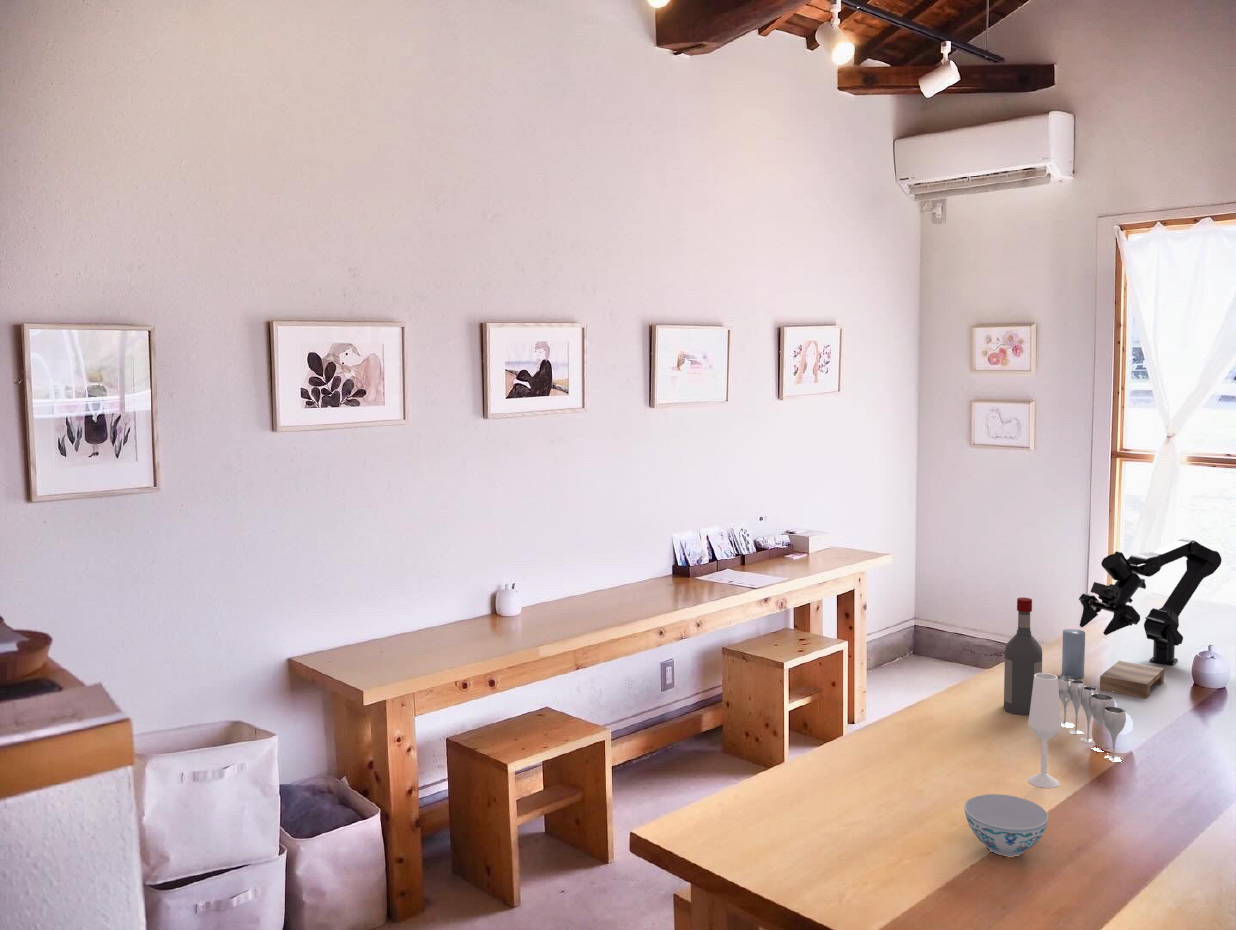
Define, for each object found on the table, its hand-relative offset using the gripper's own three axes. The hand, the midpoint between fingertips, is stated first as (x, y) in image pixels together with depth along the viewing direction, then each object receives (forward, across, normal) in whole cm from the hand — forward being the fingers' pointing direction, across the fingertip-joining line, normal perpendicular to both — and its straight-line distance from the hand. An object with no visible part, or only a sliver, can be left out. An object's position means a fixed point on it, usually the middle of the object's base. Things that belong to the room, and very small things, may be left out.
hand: (1092, 630), depth 300 cm
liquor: (+38, +18, -19) cm, 46 cm away
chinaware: (+77, +79, -58) cm, 125 cm away
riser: (+8, +14, +10) cm, 19 cm away
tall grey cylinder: (+14, 0, +4) cm, 14 cm away
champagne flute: (+57, +57, -38) cm, 89 cm away
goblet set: (+38, +42, -19) cm, 59 cm away
